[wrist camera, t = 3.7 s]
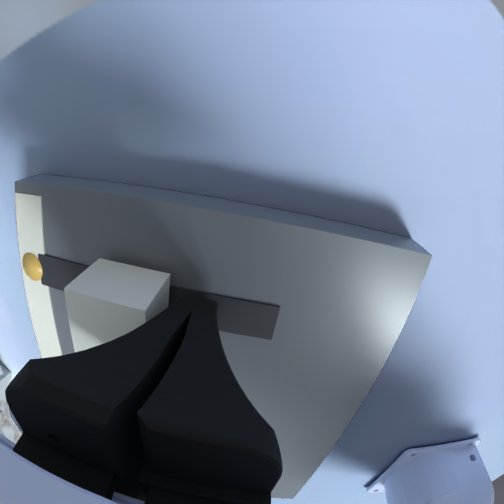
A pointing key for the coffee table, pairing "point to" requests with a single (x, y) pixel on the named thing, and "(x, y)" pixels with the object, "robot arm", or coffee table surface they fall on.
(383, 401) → the coffee table surface
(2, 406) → the wrench
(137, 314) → the switch tab
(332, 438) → the switch board
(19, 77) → the coffee table surface
